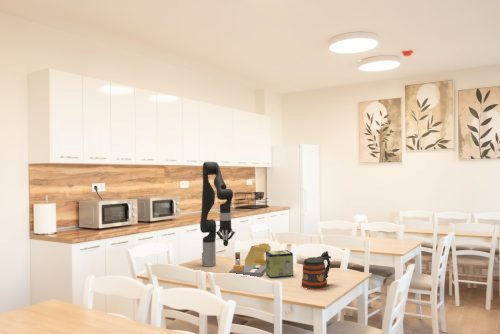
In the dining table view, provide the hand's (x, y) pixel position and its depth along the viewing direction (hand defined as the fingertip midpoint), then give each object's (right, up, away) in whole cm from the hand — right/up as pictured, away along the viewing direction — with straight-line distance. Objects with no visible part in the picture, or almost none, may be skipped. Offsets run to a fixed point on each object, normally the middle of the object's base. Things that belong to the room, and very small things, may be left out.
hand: (225, 245), depth 277 cm
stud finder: (+8, -15, -2) cm, 18 cm away
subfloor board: (+15, -19, +3) cm, 24 cm away
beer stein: (+55, -18, -33) cm, 66 cm away
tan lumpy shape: (+22, -19, +24) cm, 38 cm away
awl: (+8, -16, +6) cm, 19 cm away
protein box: (+35, -19, -7) cm, 40 cm away
